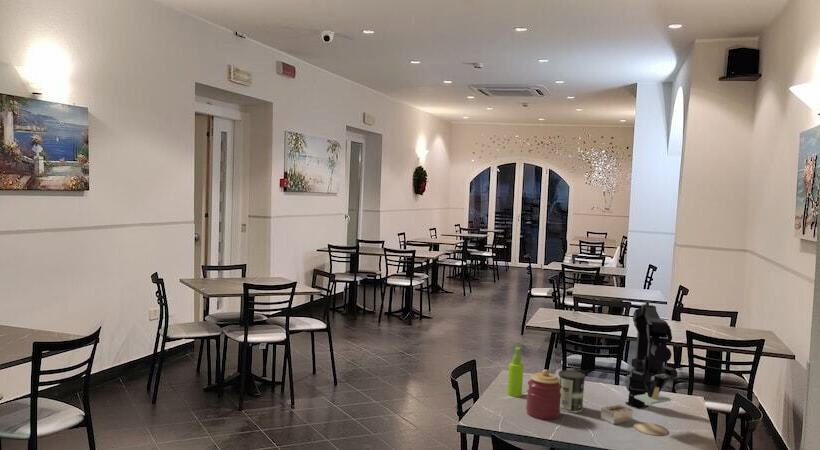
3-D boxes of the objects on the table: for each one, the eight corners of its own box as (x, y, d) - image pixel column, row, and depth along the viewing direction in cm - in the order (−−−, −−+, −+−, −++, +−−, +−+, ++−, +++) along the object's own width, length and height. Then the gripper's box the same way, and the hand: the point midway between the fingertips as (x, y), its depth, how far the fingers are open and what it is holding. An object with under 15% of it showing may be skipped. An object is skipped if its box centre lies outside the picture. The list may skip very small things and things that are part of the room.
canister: (562, 412, 251) (566, 368, 250) (555, 422, 239) (559, 376, 238) (530, 406, 256) (533, 362, 255) (521, 415, 245) (525, 370, 244)
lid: (654, 396, 243) (655, 382, 243) (670, 402, 237) (671, 388, 236) (634, 400, 238) (635, 385, 237) (650, 406, 231) (651, 391, 231)
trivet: (648, 421, 246) (648, 420, 246) (675, 432, 236) (675, 431, 236) (626, 425, 240) (626, 424, 240) (653, 437, 230) (653, 436, 230)
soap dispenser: (522, 392, 273) (526, 346, 271) (520, 397, 266) (523, 350, 265) (509, 390, 274) (512, 345, 273) (506, 395, 268) (509, 348, 267)
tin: (618, 415, 251) (619, 404, 251) (631, 421, 245) (632, 409, 245) (600, 418, 246) (601, 407, 246) (613, 424, 240) (614, 413, 240)
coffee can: (581, 405, 260) (584, 371, 259) (583, 414, 250) (585, 379, 249) (555, 402, 262) (558, 368, 261) (556, 411, 252) (558, 376, 251)
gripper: (655, 347, 248) (651, 387, 249) (621, 351, 239) (618, 392, 239) (679, 355, 238) (676, 396, 239) (645, 359, 229) (642, 402, 230)
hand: (652, 396), depth 237 cm, fingers closed on lid, 3 cm apart
